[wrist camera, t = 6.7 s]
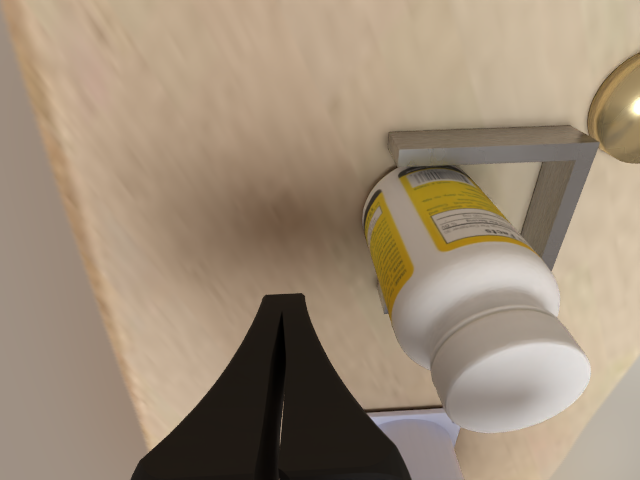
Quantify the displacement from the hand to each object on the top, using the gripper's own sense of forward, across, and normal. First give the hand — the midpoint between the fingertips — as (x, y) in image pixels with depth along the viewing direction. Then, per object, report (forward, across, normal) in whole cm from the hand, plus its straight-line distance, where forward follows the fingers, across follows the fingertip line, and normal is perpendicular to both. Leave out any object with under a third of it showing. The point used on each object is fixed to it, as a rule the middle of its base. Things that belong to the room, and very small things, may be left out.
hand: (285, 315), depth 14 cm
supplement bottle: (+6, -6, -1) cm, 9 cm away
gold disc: (+6, -15, -5) cm, 17 cm away
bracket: (+6, -8, 0) cm, 10 cm away
